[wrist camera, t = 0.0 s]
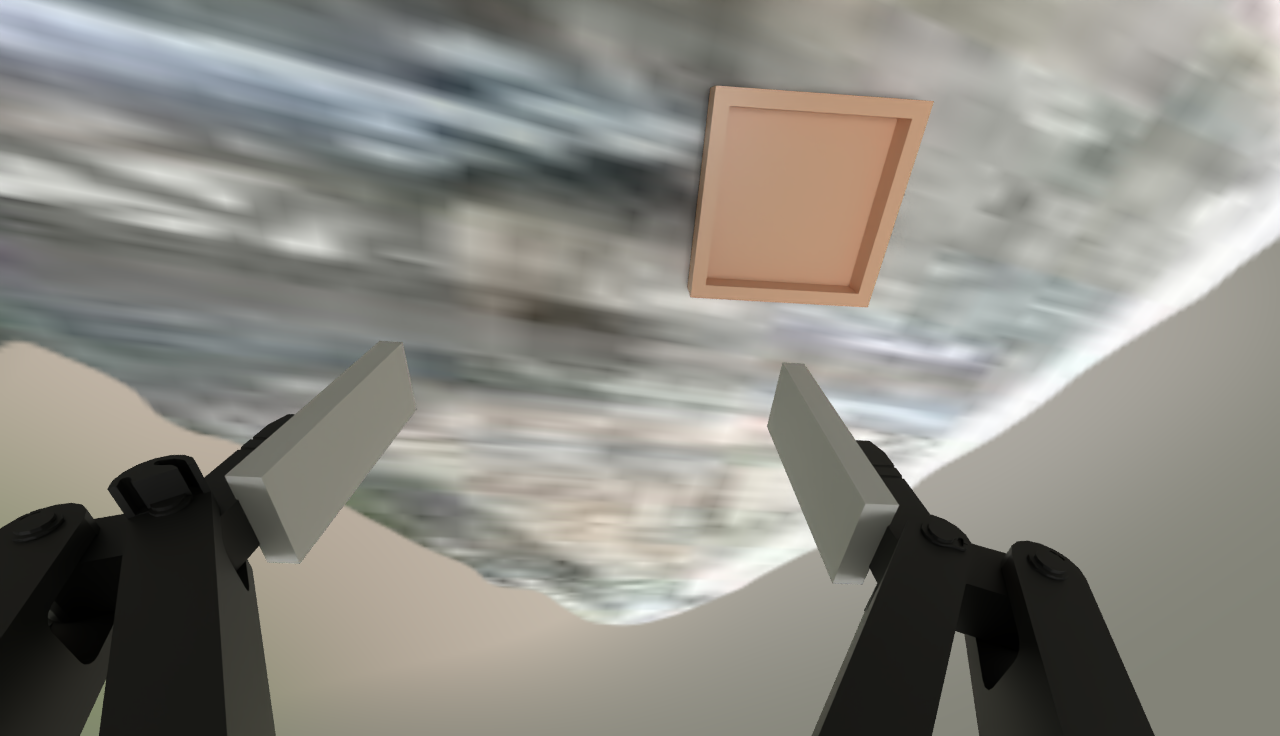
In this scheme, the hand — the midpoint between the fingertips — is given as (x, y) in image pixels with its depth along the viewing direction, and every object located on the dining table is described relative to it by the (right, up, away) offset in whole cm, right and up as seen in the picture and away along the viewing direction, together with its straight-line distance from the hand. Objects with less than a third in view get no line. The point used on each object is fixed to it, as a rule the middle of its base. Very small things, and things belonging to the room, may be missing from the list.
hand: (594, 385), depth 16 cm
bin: (+15, +15, +24) cm, 32 cm away
